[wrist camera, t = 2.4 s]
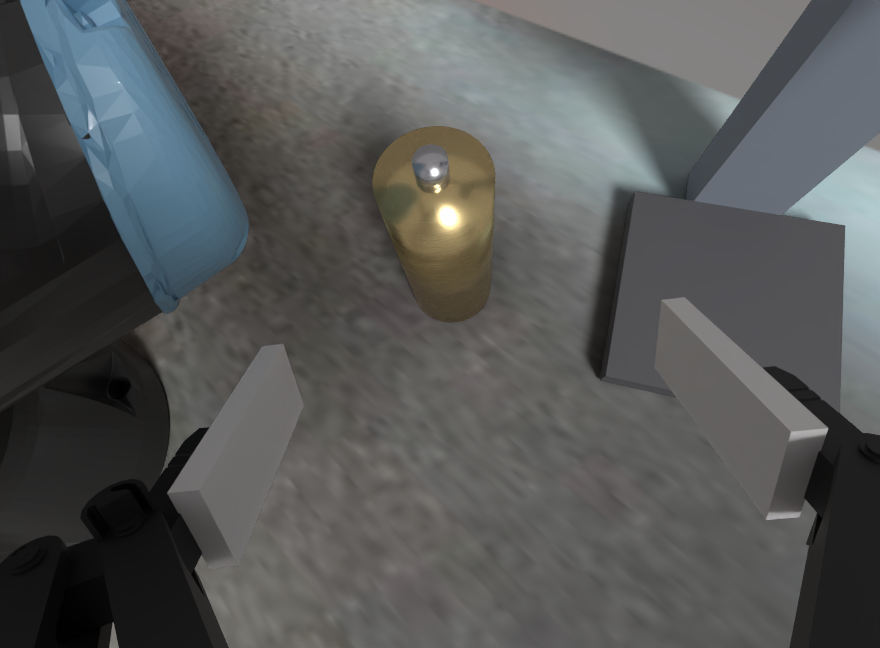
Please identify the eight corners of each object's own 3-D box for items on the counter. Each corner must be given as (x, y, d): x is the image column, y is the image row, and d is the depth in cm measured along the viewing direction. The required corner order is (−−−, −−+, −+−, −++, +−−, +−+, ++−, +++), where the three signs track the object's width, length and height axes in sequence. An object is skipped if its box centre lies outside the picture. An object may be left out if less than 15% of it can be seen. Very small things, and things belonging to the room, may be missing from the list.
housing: (405, 313, 30) (348, 206, 18) (424, 243, 32) (385, 97, 19) (481, 329, 30) (479, 229, 17) (498, 257, 31) (508, 115, 18)
